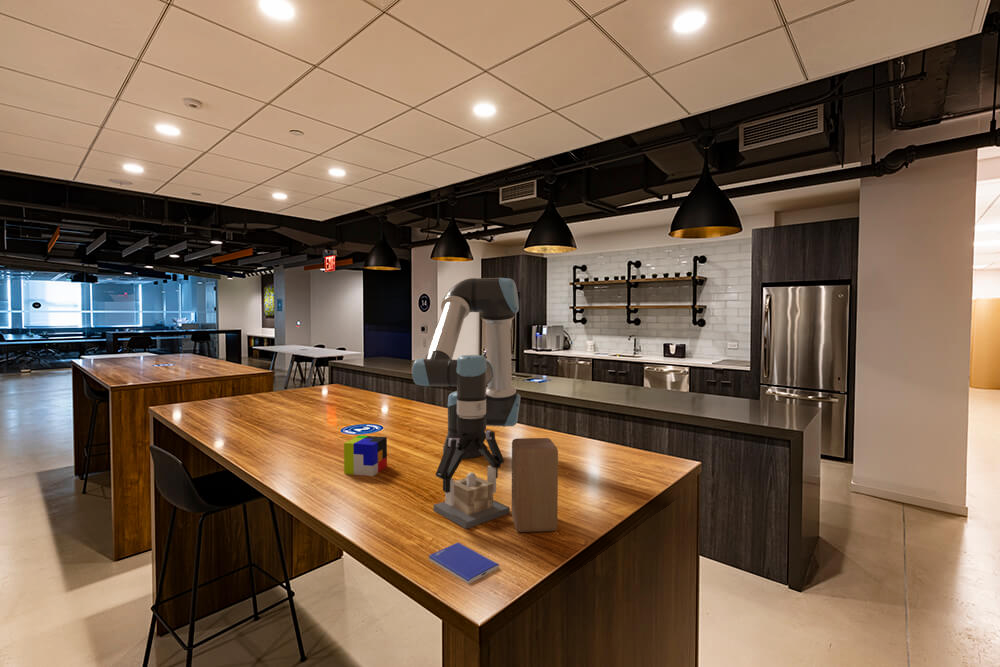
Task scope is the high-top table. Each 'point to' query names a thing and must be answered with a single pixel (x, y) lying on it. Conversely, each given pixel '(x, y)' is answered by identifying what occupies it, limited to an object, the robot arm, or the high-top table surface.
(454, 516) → the post board
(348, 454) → the puzzle toy
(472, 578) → the hard drive
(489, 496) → the maple bead
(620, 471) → the high-top table surface
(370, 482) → the high-top table surface
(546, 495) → the wooden block
